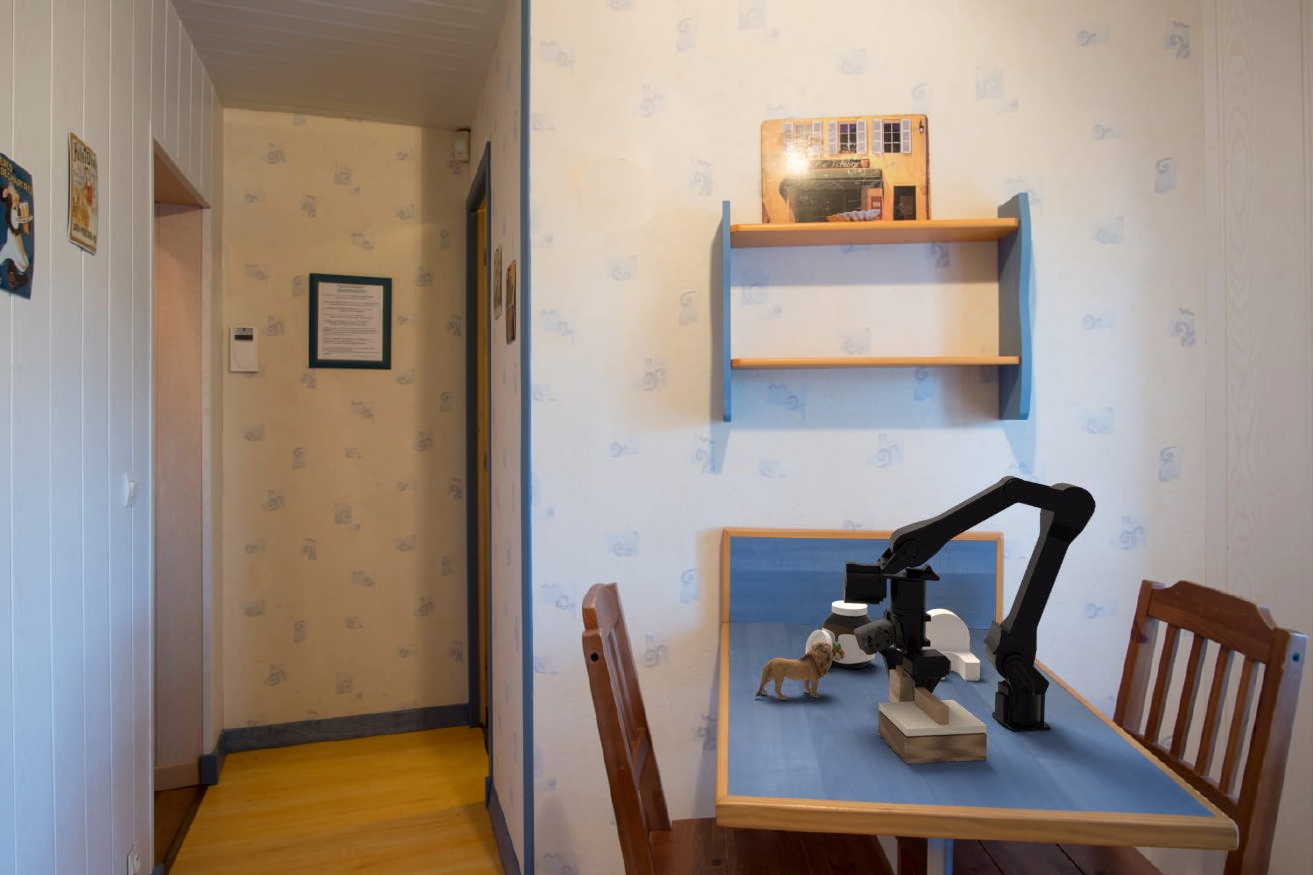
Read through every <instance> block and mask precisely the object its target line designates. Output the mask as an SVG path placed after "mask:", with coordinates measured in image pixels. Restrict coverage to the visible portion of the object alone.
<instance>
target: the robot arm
mask: <svg viewBox="0 0 1313 875" xmlns="http://www.w3.org/2000/svg"><path fill="white" fill-rule="evenodd" d="M1016 504H1022V505H1026V506H1029V507H1033V508H1038V509H1040V511H1039V534H1038V537H1037V540H1036V542H1035V544H1034V545H1035V546H1034V548H1033V551H1032V553H1031V556H1030V558H1029V561H1028V564H1027V565H1026V569H1025V572H1024V574H1023V577H1022V579H1021V582H1020V584H1019V587H1018V590H1017V592H1016V595H1015V597H1014V600H1013V603H1012V605H1011V608H1010V610H1009V613H1008V615H1007V616H1005V617H1004V620H1002V621H1001V622H1000V623H999V622H998V621H996V620H993V619H992V620H991V621H990V622H991V623H990V626H989V631H988V634H987V636H986V637H985V639H984V640H982V642H983V644H984V645H985V648H984V649H985V650H984V651H985V655H986V658H987V660H988V662H989V663H990V664H991V666H992V667H993V668H994V669H995V671H996V672H997V673H998V674H999V675H1000V677H1002V679H1003V680H1002V681H998V682H997V691H995V693H994V694H995V696H994V711H993V712H991V717H992V718H994V719H995V720H996V721H997V720H998V721H999V722H1000V723H1001V724H1002V725H1004V726H1005V727H1007V728H1009V730H1011V731H1013V732H1015V731H1016V732H1017V731H1019V732H1020V731H1021V732H1022V731H1041V730H1045V731H1046V730H1051V728H1052V727H1051V725H1050V724H1049V723H1047V722H1046V721H1045V718H1046V717H1045V714H1046V713H1045V712H1046V711H1045V710H1046V693H1047V691H1048V689H1049V686H1050V681H1049V680H1048V679H1047V678H1046V677H1045V676H1044V675H1043V674H1042V673H1041V671H1040V670H1038V669H1037V667H1036V666H1035V663H1036V662H1035V661H1036V657H1037V656H1036V655H1037V651H1038V628H1039V625H1040V622H1041V619H1042V617H1043V614H1044V612H1045V609H1046V606H1047V604H1048V600H1049V598H1050V596H1051V593H1052V591H1053V588H1054V585H1055V582H1056V581H1057V578H1058V576H1059V573H1060V571H1061V568H1062V564H1063V562H1064V559H1065V557H1066V554H1067V552H1068V549H1069V547H1070V546H1071V544H1072V543H1073V542H1074V541H1075V539H1077V538H1078V536H1079V535H1081V534H1082V532H1083V531H1084V530H1085V528H1086V527H1087V525H1088V524H1089V522H1090V521H1091V519H1092V517H1093V515H1094V514H1095V512H1096V506H1097V504H1096V500H1095V499H1094V497H1093V495H1092V493H1091V492H1090V491H1089V490H1088V489H1086V488H1084V487H1082V486H1078V485H1075V484H1070V483H1066V482H1057V483H1055V484H1052V485H1046V484H1042V483H1038V482H1035V481H1030V480H1025V479H1023V478H1019V477H1017V476H1013V475H1005V476H1003V477H1002V478H1001V479H999V480H998V481H997V482H996V483H994V484H992V485H990V486H988V487H987V488H985V489H983V490H981V491H979V492H977V493H976V494H974V495H972V496H970V497H969V498H967V499H965V500H964V501H962V502H960V503H959V504H956V505H955V506H952V507H950V508H949V509H947V510H945V511H943V512H942V513H940V514H939V515H936V516H933V517H931V518H927V519H923V520H919V521H916V522H913V523H909V524H907V525H905V526H902V527H901V526H900V527H899V528H897V529H895V530H894V531H893V532H892V533H891V535H890V538H889V540H888V547H887V548H886V549H885V551H884V552H883V553H882V554H881V555H880V557H878V559H877V560H876V562H875V563H871V562H870V563H869V562H856V561H849V560H848V561H847V560H846V561H845V566H844V567H845V569H844V577H843V578H842V591H843V592H842V593H843V596H842V597H843V601H844V603H852V604H866V605H874V606H875V605H877V606H879V605H880V603H881V602H883V601H884V600H886V599H887V596H888V595H887V594H888V580H889V608H884V611H883V613H882V614H883V615H882V616H883V617H882V618H881V619H878V620H874V621H873V620H872V621H873V622H871V623H868V624H866V625H863V626H861V627H858V628H856V629H854V634H855V637H856V640H857V643H858V646H859V649H861V650H863V651H864V652H865V654H867V655H873V654H875V653H876V654H877V653H878V654H880V655H881V657H882V660H883V663H884V667H885V670H886V674H887V678H888V680H889V678H890V670H895V669H896V665H904V667H905V669H903V671H904V672H905V673H906V674H907V675H908V676H909V677H910V678H911V683H912V692H913V701H915V688H925V689H927V690H928V691H929V692H930V693H932V694H933V692H934V691H935V690H936V687H937V686H938V685H939V683H940V682H941V681H942V680H941V679H942V677H945V678H946V676H947V675H948V676H949V675H950V674H952V671H951V661H950V660H949V659H948V658H947V657H946V656H945V655H943V654H942V653H940V652H939V651H937V650H936V649H925V650H921V649H923V647H931V641H930V640H929V639H927V638H926V622H931V615H930V614H928V613H926V612H927V594H928V592H927V591H928V590H927V586H928V581H929V582H932V581H933V582H939V581H940V580H941V577H940V576H939V575H938V573H937V572H936V571H935V570H933V568H932V566H931V565H930V564H929V563H928V561H930V559H932V558H933V557H934V556H936V554H938V553H939V552H940V551H941V550H942V548H943V547H944V546H945V545H947V544H948V543H949V542H950V541H951V540H953V539H955V537H957V536H959V535H961V534H963V533H964V532H967V531H969V530H970V529H972V528H974V527H976V526H977V525H979V524H981V523H983V522H985V521H986V520H988V519H990V518H992V517H994V516H996V515H997V514H999V513H1001V512H1002V511H1004V510H1006V509H1008V508H1011V507H1012V506H1014V505H1016ZM926 562H927V563H926ZM919 567H920V568H919ZM876 654H875V655H876Z"/></svg>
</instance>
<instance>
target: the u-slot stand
mask: <svg viewBox="0 0 1313 875" xmlns="http://www.w3.org/2000/svg"><path fill="white" fill-rule="evenodd" d="M926 613H928V614H930V615H931V622H926V638H927V639H929V640H930V641H931V647H923V649H921V650H925V649H936V650H937V651H939V652H940V653H942V654H943V655H945V656H946V657H947V658H948V659H949V660H950V661H951V672H955V673H958V675H959V676H960V677H961V678H962V679H963V680H964V681H972V682H973V681H980V677H981V676H980V674H981V673H980V672H981V669H980V668H981V660H980V659H978V658H977V657H976V655H974V653H973V652H972V651H970V650H971V646H970V644H971V642H970V641H971V639H970V631H969V629H968V626H967V625H966V623H965V622H964V621H963V620H962V619H961V618H960V617H959V616H958V615H957V614H955V613H954V612H952V611H951V610H948V609H945V608H936V609H935V608H934V609H933V608H932V609H930V610H928V611H926ZM945 679H946V677H942V679H941V680H940V681H942V680H945Z"/></svg>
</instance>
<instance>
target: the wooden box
mask: <svg viewBox="0 0 1313 875" xmlns="http://www.w3.org/2000/svg"><path fill="white" fill-rule="evenodd" d="M878 733H879V734H880V736H881V737H882V738H883V739H884V740H885V741H886V742H885V741H884V740H883V739H882V738H881V737H880V736H879V737H880V738H881V739H882V740H883V741H884V742H885V743H886V744H887V745H888V746H889V748H890V749H892V751H893V752H894V753H895V754H896V755H897V756H898V757H899V758H900V759H901V760H902V761H903V762H904V763H905V765H912V764H930V763H931V764H932V763H950V762H951V761H952V762H953V761H955V762H971V761H972V762H973V761H974V760H975V761H986V760H987V744H988V743H987V742H988V741H987V740H988V738H987V737H988V734H986V733H966V734H944V735H921V736H906V735H905V734H904V733H903V732H902V731H901V730H900V729H899V728H898V727H897V726H896V725H895V724H894V723H893V722H892V721H891V720H890V719H888V718H887V717H886V716H885V715H884V714H883V713H882V712H881V711H880V710H879V711H878ZM952 762H951V763H952ZM953 763H954V762H953Z"/></svg>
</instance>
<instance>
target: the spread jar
mask: <svg viewBox="0 0 1313 875" xmlns="http://www.w3.org/2000/svg"><path fill="white" fill-rule="evenodd" d="M871 622H873V619H872V618H871V617H870V616H869V615H868V604H852V603H844V600H835V601H833V602H832V603H831V613H830V614H828V616H827V617H825V620H824V621H823V623H822V629H815V630H814V631H812V632H811V633H810V635H809V636H808V638H807V640H806V644H805V655H806V654H807V652H809V651H810V650H811V649H812V645H813V644H815V643H817V642H820V641H822V642H825V643H828V644H829V645H831V649H832V652H833V659H832V663H831V665H833V666H834V667H837V668H840V669H841V668H842V669H846V668H859V669H862V668H865V667H867V666H869V664H870V663H872V661H873V660H874V659H875V657H876V654H877V653H875V654H873V655H867V654H865V652H864V651H863V650H861V649H859V646H858V643H857V640H856V637H855V634H854V629H856V628H858V627H861V626H863V625H866V624H868V623H871Z"/></svg>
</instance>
